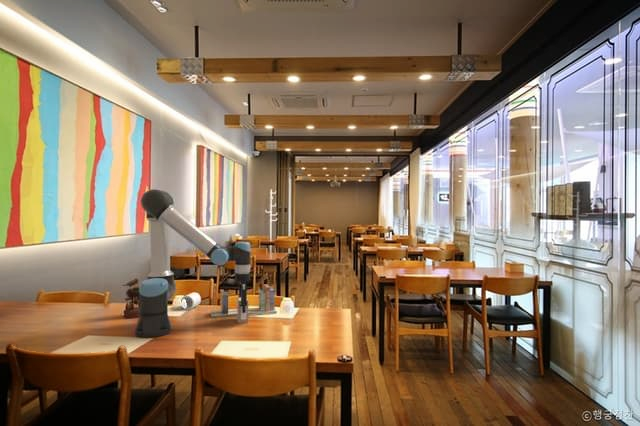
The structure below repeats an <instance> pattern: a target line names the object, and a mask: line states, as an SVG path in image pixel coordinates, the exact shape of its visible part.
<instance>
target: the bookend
mask: <svg viewBox="0 0 640 426" xmlns="http://www.w3.org/2000/svg"><path fill="white" fill-rule="evenodd" d="M221 310H222V314H228V310H229V293H228V291H221Z"/></svg>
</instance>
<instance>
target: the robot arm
mask: <svg viewBox="0 0 640 426" xmlns="http://www.w3.org/2000/svg"><path fill="white" fill-rule="evenodd" d="M140 206H141V208H142V210H143V211H144V212H146V213H145V215H146V220H147V221H148V222H149V234H150V235H149V239H150V241H149V243H150V272H149V274H147V279H145V280H143V281H141V283H140V284H139V293H140V297H139V318H137V319H138V320H137V321H136V325H135V328H134V336H135V337H138V338H146V339H148V338H158V337H162V336H166V335H168V334H170V333H171V332H172V329H173V328H172V327H173V326H172V323H171V320H170V317H169V314H168V309H169V308H168V307H169V305H168V304H169V300H171V299H172V298H173V296H174V295H175V293H176V289H177V286H176V282H175V277H174V276H175V274H174V272H173V271H171V252H170V251H171V243H170V240H171V239H170V228H171V229H172V230H173V231H175V232H176V233H177V234H178V235H179V236H180V237H182V238H183V239H185V240H186V241H187V242H188V243H190V244H191V245H193V247H194V248H196V249H197V250H199V252H200V253H202V254H203V255H205V256H206V257H207V258H208V259H210V261H211V262H212V264H214V265H215V266H223V265H225V264H226V263H227V262H234V272H235V274H234V280H235V282H238V297H241V305H240V306H241V320H244V319H247V299H248V297H247V294H248V293H247V292H248V289H247V288H248V285H247V283H246V282H249V281H251V273H250V272H251V268H252V265H251V243H250V242H248V241H237V242H235V244H234V245H230V246H229V245H228V246H227V245H226V246H225V245H222V246H221V245H220V244H219V243H217V242H216V241H215V240H213V238H212V237H210V236H209V235H208V234H206V233H205V232H204V231H203V230H202V229H200V228H199V227H198V226H197V225H196V224H194V223H193V222H191V220H189V219H188V218H187V217H185V216H184V215H183V214H182V213H180V212H179V211H178V210H177V209H176V208H175V202H174V199H173V197H172V195H170V193H168V192H167V191H164V190H159V189H156V188H155V189H154V188H153V189H152V188H151V189H149V190H147V191H145V192H144V193H143V194H142V196H141V199H140Z"/></svg>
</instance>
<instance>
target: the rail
mask: <svg viewBox="0 0 640 426" xmlns="http://www.w3.org/2000/svg"><path fill="white" fill-rule="evenodd" d="M275 294H276V293H275V289H274V288H273V287H271V286H270V285H269V284H263V289H259V290H258V307H248V316H258V315H259V314H263V315H273V314H274V315H275V314H276V313H278V311H277V310H276V308H275ZM259 316H260V315H259ZM230 317H232V318H234V317H237V308H232V309H229V308H228V314H222V309H217V310H216V309H215V310H210V318H211V319H217V318H218V319H219V318H230Z"/></svg>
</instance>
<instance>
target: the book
mask: <svg viewBox="0 0 640 426" xmlns="http://www.w3.org/2000/svg"><path fill="white" fill-rule="evenodd" d="M236 300H237V302H236V309H237V316H236V320H237V324H248V323H249V315H248V308H249V300H248V298H247V319H244V320H241V306H240V305H241V297H237V299H236Z"/></svg>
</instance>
